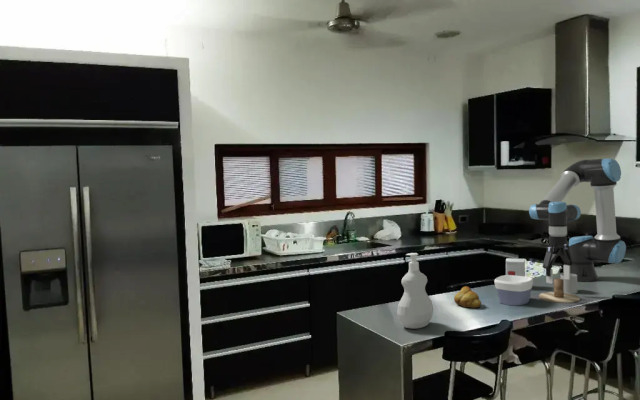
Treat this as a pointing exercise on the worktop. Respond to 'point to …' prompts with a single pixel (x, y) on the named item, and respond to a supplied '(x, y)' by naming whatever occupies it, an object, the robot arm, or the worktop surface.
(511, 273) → the supplement box
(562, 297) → the lid
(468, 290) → the bread roll
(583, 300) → the mat
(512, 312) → the worktop surface
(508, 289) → the bowl
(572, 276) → the cup
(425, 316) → the soap bottle
